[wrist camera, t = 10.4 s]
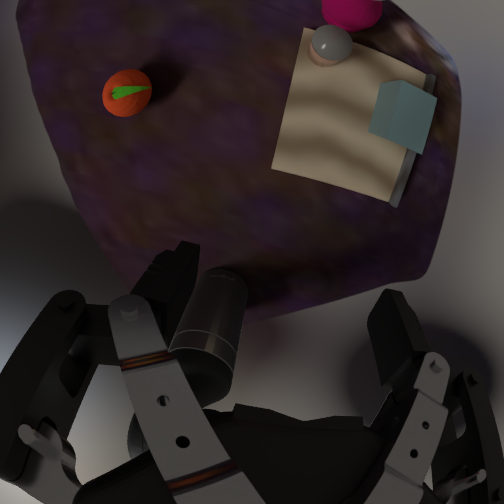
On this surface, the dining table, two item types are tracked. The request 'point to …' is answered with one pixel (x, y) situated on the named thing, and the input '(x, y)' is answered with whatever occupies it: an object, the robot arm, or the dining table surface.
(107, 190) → the dining table surface
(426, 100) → the tea box
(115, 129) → the dining table surface
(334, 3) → the pepper mill
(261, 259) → the dining table surface
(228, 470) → the robot arm
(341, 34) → the spice jar
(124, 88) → the clementine
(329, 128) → the shelf board
